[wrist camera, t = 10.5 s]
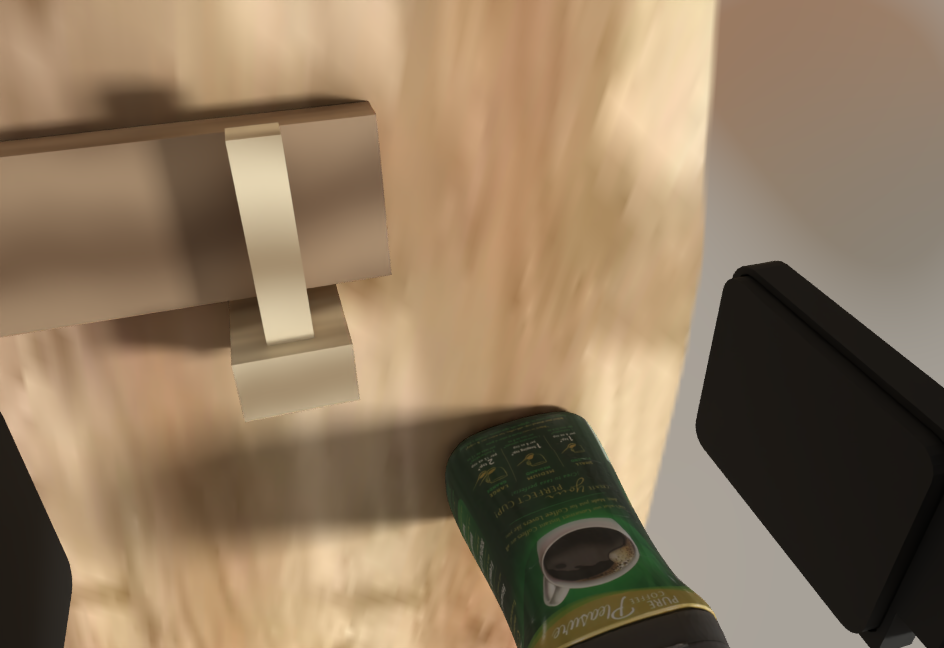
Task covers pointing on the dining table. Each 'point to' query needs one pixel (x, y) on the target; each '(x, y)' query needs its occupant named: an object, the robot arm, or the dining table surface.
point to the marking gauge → (281, 296)
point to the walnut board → (177, 215)
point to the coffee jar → (567, 542)
